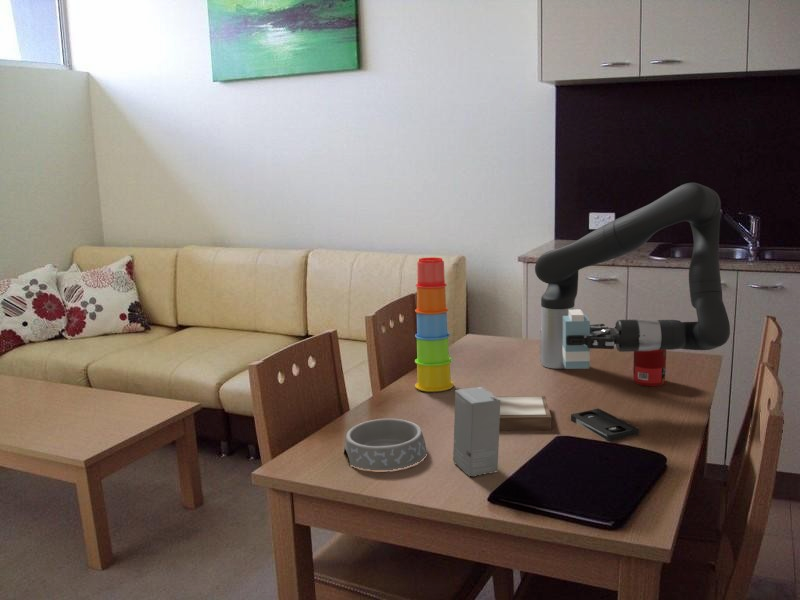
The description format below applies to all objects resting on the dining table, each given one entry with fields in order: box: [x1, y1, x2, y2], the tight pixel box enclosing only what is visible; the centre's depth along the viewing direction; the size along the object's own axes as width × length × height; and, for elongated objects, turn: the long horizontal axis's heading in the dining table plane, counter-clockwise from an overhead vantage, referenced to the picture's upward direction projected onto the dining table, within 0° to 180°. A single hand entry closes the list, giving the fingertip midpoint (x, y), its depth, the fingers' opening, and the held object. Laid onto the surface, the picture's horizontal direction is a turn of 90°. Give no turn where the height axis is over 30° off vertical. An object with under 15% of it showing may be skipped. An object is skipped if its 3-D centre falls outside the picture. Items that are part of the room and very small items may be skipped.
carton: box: [563, 308, 591, 370], centre depth 181 cm, size 6×6×13 cm
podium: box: [494, 395, 552, 431], centre depth 179 cm, size 14×14×3 cm
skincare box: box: [452, 386, 500, 477], centre depth 153 cm, size 8×7×16 cm
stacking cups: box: [414, 257, 454, 393], centre depth 201 cm, size 10×10×35 cm
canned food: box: [632, 350, 667, 387], centre depth 200 cm, size 8×8×11 cm
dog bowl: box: [343, 418, 428, 470], centre depth 163 cm, size 17×18×5 cm
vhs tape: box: [570, 408, 640, 442], centre depth 172 cm, size 14×8×2 cm, turn 23°
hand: (565, 337), depth 181 cm, fingers closed on carton, 5 cm apart
